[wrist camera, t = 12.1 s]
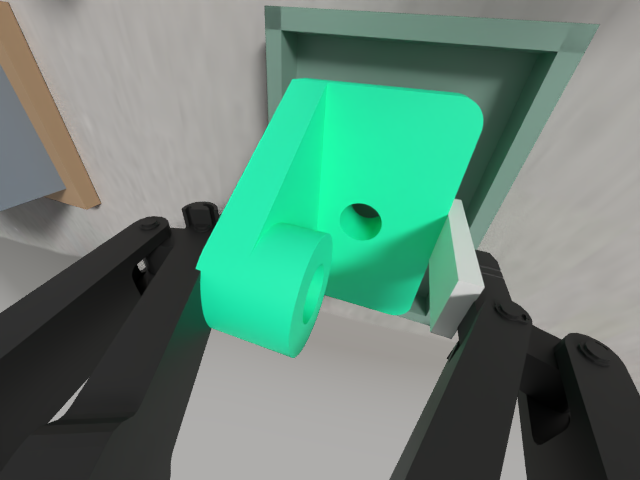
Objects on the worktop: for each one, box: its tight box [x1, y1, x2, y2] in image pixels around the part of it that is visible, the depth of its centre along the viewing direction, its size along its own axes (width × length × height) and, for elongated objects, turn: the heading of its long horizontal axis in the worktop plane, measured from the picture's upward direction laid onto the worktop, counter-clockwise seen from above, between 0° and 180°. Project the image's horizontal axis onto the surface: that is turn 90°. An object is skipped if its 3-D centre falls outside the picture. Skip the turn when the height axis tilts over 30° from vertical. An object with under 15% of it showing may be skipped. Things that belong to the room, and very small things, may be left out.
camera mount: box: [196, 78, 483, 358], centre depth 11 cm, size 12×8×10 cm, turn 176°
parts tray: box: [265, 6, 600, 326], centre depth 16 cm, size 13×17×2 cm
